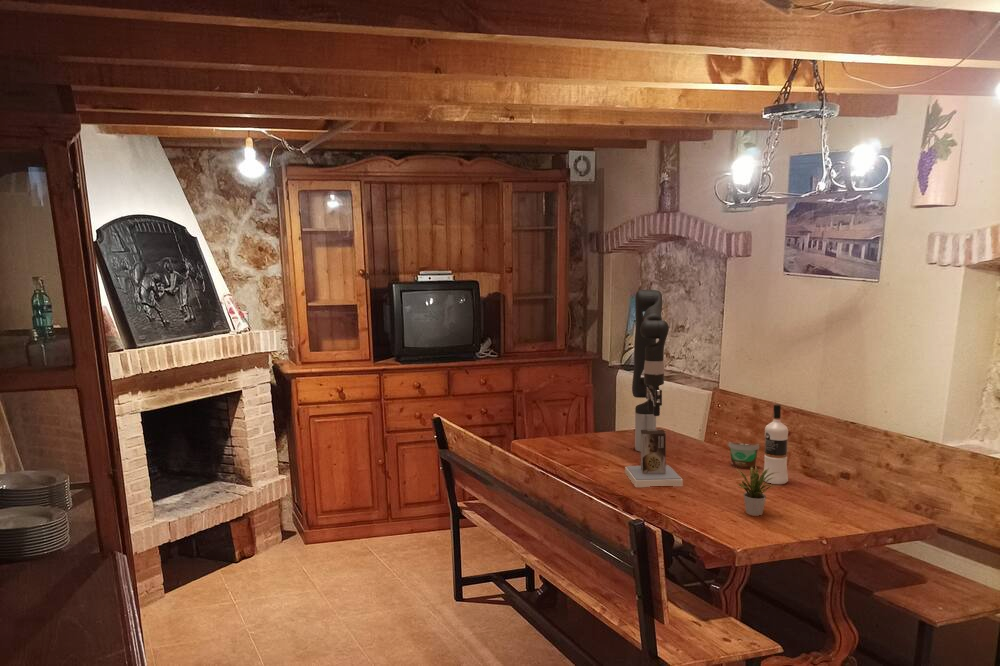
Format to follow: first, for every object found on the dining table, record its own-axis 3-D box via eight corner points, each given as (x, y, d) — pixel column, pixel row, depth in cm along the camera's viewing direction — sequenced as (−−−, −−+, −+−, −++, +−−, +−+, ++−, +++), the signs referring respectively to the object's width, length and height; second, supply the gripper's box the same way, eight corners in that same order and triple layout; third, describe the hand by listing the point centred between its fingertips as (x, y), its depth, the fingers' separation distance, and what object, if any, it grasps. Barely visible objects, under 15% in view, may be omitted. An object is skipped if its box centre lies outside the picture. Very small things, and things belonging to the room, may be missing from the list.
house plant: (789, 519, 229) (791, 470, 228) (753, 524, 225) (755, 474, 224) (761, 505, 243) (763, 459, 241) (727, 509, 239) (728, 462, 237)
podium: (625, 473, 281) (625, 465, 281) (669, 472, 282) (669, 464, 282) (635, 487, 263) (635, 479, 263) (682, 486, 264) (682, 478, 264)
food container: (726, 468, 287) (727, 444, 286) (727, 464, 293) (728, 440, 292) (758, 471, 282) (759, 446, 281) (759, 466, 288) (759, 443, 287)
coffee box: (663, 469, 275) (664, 429, 274) (665, 474, 269) (666, 433, 267) (640, 469, 276) (640, 429, 275) (642, 474, 270) (642, 433, 268)
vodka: (792, 484, 264) (794, 406, 261) (768, 485, 264) (770, 407, 261) (781, 477, 274) (783, 402, 271) (758, 477, 273) (760, 402, 270)
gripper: (639, 369, 275) (639, 409, 277) (649, 375, 261) (648, 417, 263) (658, 369, 276) (658, 409, 277) (669, 374, 262) (668, 417, 263)
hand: (653, 413), depth 270 cm, fingers open, 8 cm apart
